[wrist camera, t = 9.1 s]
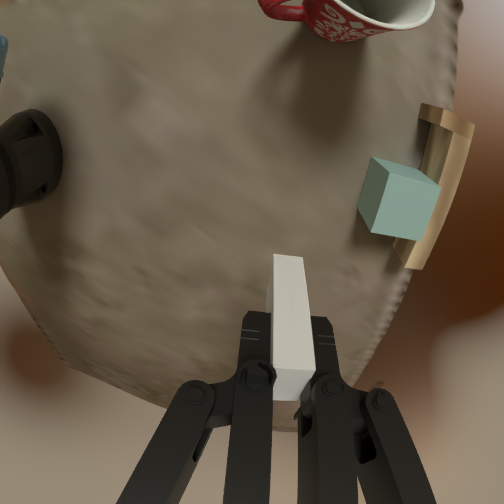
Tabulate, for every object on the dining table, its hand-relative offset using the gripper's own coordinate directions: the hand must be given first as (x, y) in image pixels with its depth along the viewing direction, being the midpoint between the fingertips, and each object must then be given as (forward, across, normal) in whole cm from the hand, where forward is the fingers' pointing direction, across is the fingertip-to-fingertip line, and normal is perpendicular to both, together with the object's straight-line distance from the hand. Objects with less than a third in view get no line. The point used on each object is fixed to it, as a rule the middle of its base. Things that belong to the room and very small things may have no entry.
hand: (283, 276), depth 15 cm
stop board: (+19, +18, +2) cm, 27 cm away
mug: (+20, +2, +19) cm, 27 cm away
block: (+19, +14, 0) cm, 24 cm away
